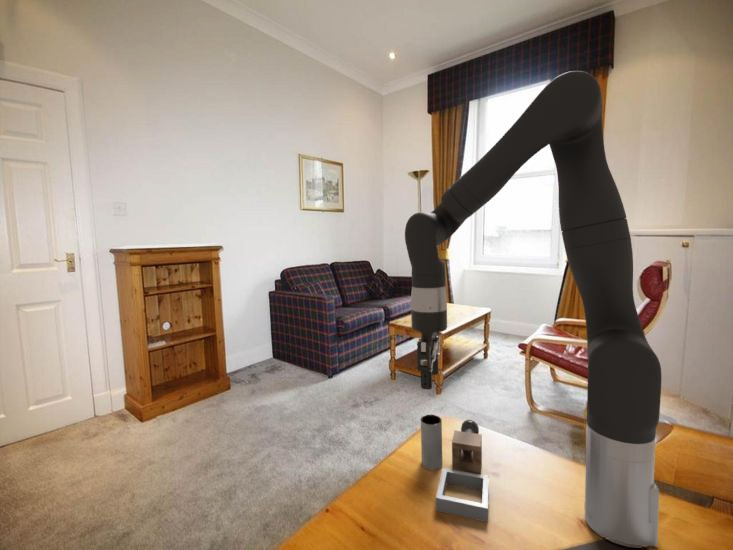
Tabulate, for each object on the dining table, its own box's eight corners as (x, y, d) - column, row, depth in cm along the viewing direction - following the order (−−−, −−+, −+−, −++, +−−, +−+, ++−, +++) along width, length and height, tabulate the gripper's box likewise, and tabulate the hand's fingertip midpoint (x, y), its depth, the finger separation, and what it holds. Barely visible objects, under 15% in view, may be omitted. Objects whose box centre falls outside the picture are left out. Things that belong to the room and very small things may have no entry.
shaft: (478, 437, 85) (478, 421, 84) (476, 460, 76) (476, 442, 75) (461, 434, 86) (461, 418, 86) (457, 456, 77) (457, 439, 77)
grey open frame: (488, 488, 70) (488, 476, 70) (487, 522, 61) (487, 508, 61) (442, 479, 73) (442, 467, 73) (436, 510, 65) (435, 497, 64)
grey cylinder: (442, 471, 76) (441, 425, 75) (421, 469, 76) (420, 423, 76) (442, 458, 80) (441, 415, 79) (422, 456, 81) (421, 413, 80)
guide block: (481, 462, 78) (481, 434, 77) (480, 477, 73) (480, 446, 73) (454, 458, 80) (454, 430, 79) (452, 471, 75) (451, 442, 75)
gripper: (441, 314, 67) (443, 396, 69) (450, 302, 81) (451, 371, 82) (403, 313, 70) (405, 392, 71) (418, 301, 83) (419, 368, 84)
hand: (430, 380), depth 77 cm, fingers open, 8 cm apart
